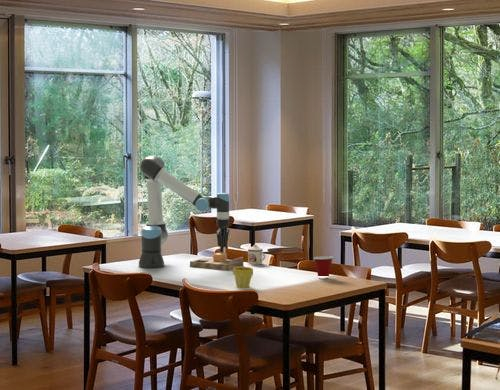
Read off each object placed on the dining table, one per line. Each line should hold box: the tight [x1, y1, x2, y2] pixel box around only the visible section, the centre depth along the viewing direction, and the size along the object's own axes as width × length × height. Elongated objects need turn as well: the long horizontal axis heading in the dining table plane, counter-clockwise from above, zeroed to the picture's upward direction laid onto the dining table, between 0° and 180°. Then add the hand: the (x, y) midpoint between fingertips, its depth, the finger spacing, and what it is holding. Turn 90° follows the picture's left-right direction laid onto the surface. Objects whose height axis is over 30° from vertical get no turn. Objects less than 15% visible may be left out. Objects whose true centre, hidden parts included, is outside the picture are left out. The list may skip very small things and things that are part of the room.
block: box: [212, 252, 228, 262], centre depth 549 cm, size 6×6×4 cm
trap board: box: [189, 256, 245, 271], centre depth 547 cm, size 27×17×6 cm, turn 63°
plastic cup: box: [313, 255, 334, 277], centre depth 510 cm, size 11×11×12 cm
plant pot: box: [232, 266, 254, 289], centre depth 481 cm, size 10×10×10 cm
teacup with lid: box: [247, 244, 266, 266], centre depth 557 cm, size 12×9×12 cm
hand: (222, 257), depth 553 cm, fingers closed
